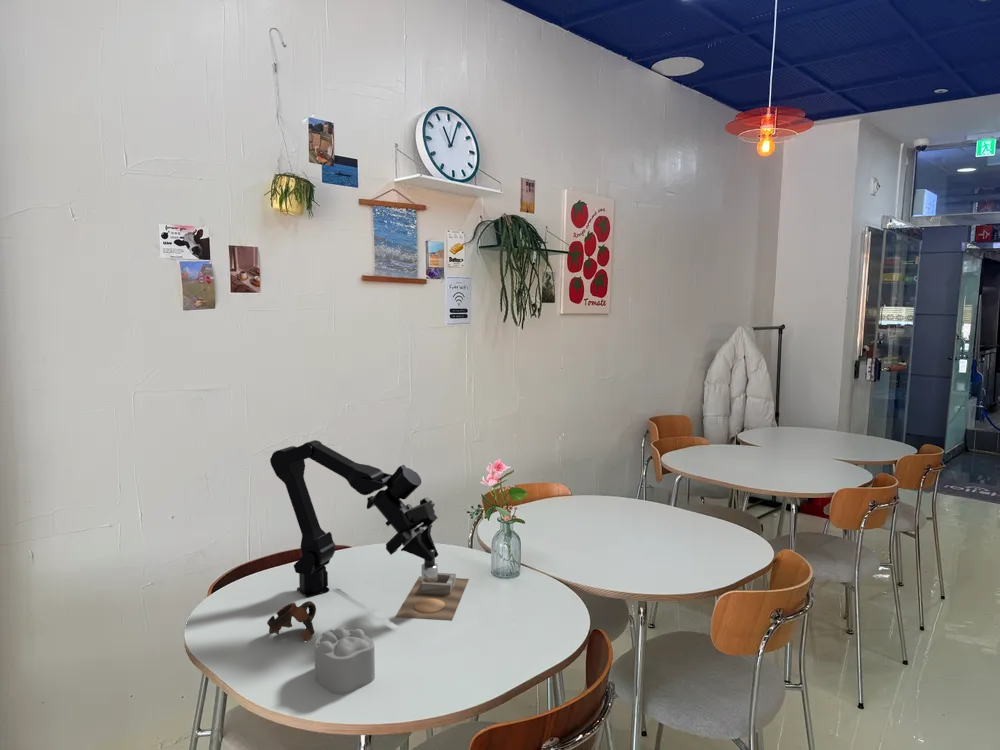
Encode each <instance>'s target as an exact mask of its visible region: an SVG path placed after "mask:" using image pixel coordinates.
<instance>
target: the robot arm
mask: <svg viewBox="0 0 1000 750" xmlns="http://www.w3.org/2000/svg"><path fill="white" fill-rule="evenodd" d="M306 459H310V460H313V461H314V462H316V463H317V464H319V465H321V466H323V467H325V468H326V469H328V470H329V471H332V472H333V473H335V474H337V475H338V476H341V477H342V478H343V479H345V480H346V481H347V483H348V485H349V486H350V487H351V488H352V489H353V490H355V491H356V493H358V494H360V495H362V496H368V495H370V496H368V497H367V502H366V509H367V510H369V509H372V508H373V507H375V508H376V509H378V511H379V512H380V514H381V515H382V516H383V517H384V518H385V520H387V521H385V525H386V526H387V527H390V526H392V528H393V529H394V530H395V532H396V534H395V535H394V536H393V537H392V538H391V539H389V541H387V542H386V544H385V550H386V551H387V552H388V553H389V555H390V556H392V555H393V554H395V553H396V552H397V551H398V549H399V548H400V547H401V546H402V548H401V549H400V551H401V552H407V553H409V554H411V555H413V556H416V557H419V558H421V559H423V560H424V559H425V560H427V561H429V562H431V561H432V560H433V557H432V555H431V554H430V552H429V551H428V550H427V549H428V548H432V549H435V559H436V558H437V557H438V556H439V553H438V551H437V548H436V546H435V543H434V540H433V537H432V535H431V532H432V531H431V530H432V527H433V523H434V522H436V520H438V518H439V517H438V516H437V515H436V514H435V513H436V512H435V509H434V507H435V505H436V504H435V503H434V501H432V500H431V499H430V498H429V497H428V496H427V497H424V498H422V499H420V501H419V504H418V505H415V506H414V507H413V506H412V505H411V504H409V503H407V504H406V505H405V503H404V502H403V501H402V500H407V498H409V497H410V496H411V494H413V493H414V492H415V490H416V489H418V487H420V486H421V485H422V479H421V476H420V475H419V474H418V472H416V471H414V469H412V468H410V467H409V468H408V467H406V465H405V464H402V465H400V466H398V467H397V468H396V470H395V471H394V473H393V474H390V473H386V472H384V471H383V470H381V469H380V468H378V467H374V466H372V465H369V464H364V463H363V464H362V463H358V462H355V461H353V460H351V459H350V458H348V457H346V456H344V455H342V454H340V453H339V452H338V451H335V450H333V449H332V448H330V447H328V446H327V445H324V444H322V442H321V441H320V440H315V439H314V440H310V441H307V442H305V443H303V444H302V445H299V446H295V445H291V446H288V447H285V448H281V449H278V450H275V451H274V452H273V453H272V455H271V457H270V460H269V462H270V466H271V467H272V470H273V472H274V474H275V476H276V477H278V479H280V481H282V483H284V485H285V488H286V491H287V494H288V497H289V500H290V503H291V506H292V509H293V511H294V512H293V513H294V515H295V518H296V521H297V524H298V527H299V530H300V532H301V533H300V534H301V541H300V552H301V557H300V558H299V559H298V560H297V561H296V562H295V563H294V564H293V568H294V571H295V573H297V574H298V577H299V581H298V582H299V583H298V584H299V585H298V586H299V587H296V590H297V591H298V592H299V593H301V594H302V595H303V596H305V597H306V598H309V597H313V596H317V595H320V594H322V593H326V592H327V593H328V592H330V588H329V587H328V586H329V578H328V577H329V574H328V571H327V566H326V565H328V564H330V561H331V559H332V558H333V557H334V554H335V553H336V552H335V551H336V549H335V547H336V545H337V544H336V543H335V542H334V540H333V535H332V533H331V531H327V532H326V531H324V530H323V529H322V528H321V525H320V523H319V520H318V516H317V514H316V511H315V508H314V505H313V502H312V499H311V496H310V492H309V489H308V486H307V484H306V481H305V469H306V463H305V462H306V461H305V460H306ZM385 487H387V488H386V489H383V488H385ZM376 491H378V492H377V493H375V492H376ZM373 493H375V494H374V495H371V494H373Z"/></svg>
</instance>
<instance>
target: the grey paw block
mask: <svg viewBox="0 0 1000 750" xmlns="http://www.w3.org/2000/svg"><path fill="white" fill-rule="evenodd" d="M314 640H315V641H314V673H315V674H314V677H315V682H316V684H318V685H319V686H321V688H322V689H324V690H326V691H328V693H332V694H335V695H347V694H351V693H352V692H354V691H356V689H359V688H361V687H363V686H367V685H369V684H371V683H373V681H375V678H376V676H375V675H376V673H375V670H376V669H375V667H376V665H375V662H376V661H375V660H376V659H375V643H374V641H373V639H371V638H370V637H369V636H367V635H366V634H365V632H364V630H363V629H360V628H355V629H345V628H343V627H337V628H336V629H329V630H326V631H324V632H321V634H319V635H318V636H317V638H315V639H314Z"/></svg>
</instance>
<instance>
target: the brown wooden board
mask: <svg viewBox="0 0 1000 750" xmlns="http://www.w3.org/2000/svg"><path fill="white" fill-rule="evenodd" d="M421 578H422V575H421V576H419V577H418V578H417V580H416V581H415V582H414V585H413V586H412V588H411V590H410V592H409V593H408V595H407V596H406V598H405V600H404V601H403V603H402V604H401V606H400V608H399V610H398V611H397V612H396V615H395V616H394V618H399V619H400V618H401V619H416V620H417V619H419V620H433V621H434V620H435V621H438V620H439V621H451V622H452V621H453V619H454V617H455V614H456V612H457V609H458V607H459V604H460V602H461V600H462V597H463V595H464V592H465V590H466V588H467V585H468V583H469V580H470V578H457V577H456V573H448V572H447V573H445V572H444V573H443V572H438V580H437V581H435V582H431V583H427V582H423V581H422V580H421Z"/></svg>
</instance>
